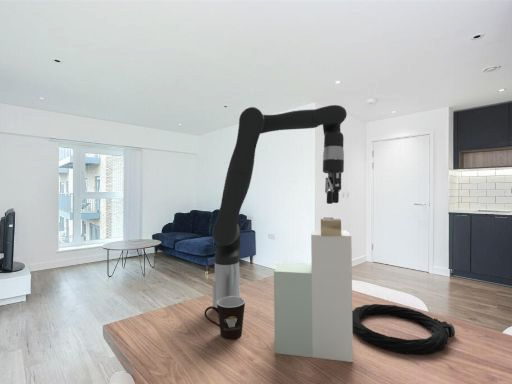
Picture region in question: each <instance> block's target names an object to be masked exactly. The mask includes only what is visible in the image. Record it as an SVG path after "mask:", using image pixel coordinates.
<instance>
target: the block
mask: <svg viewBox="0 0 512 384" xmlns="http://www.w3.org/2000/svg"><path fill="white" fill-rule="evenodd" d="M320 230H321V236H341V231H342V220H341V219H340V218H334V217H323V218H320Z"/></svg>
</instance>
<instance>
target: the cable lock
mask: <svg viewBox="0 0 512 384" xmlns="http://www.w3.org/2000/svg"><path fill="white" fill-rule="evenodd" d="M375 315H377V316H393V317H397V318H404V319H407V320H408V321H413V322H415V323H418V324H419V325H421V326H423V327H425V328H426V329H429V331H430V332H431V333H432V335H431V336H429V337H427V338H418V339H416V338H415V339H405V338H399V337H395V336H390V335H386V334H383V333H380V332H377V331H374V330H372V329H370V328H369V327H366V325H364V324H363V323H362V322H361V320H362V319H363V318H365V317H369V316H375ZM352 329H353V332H354V334H355V335H356V336H358V338H360V339H362V340H363V341H364V342H366V343H368V344H372V345H374V346H376V347H378V348H379V349H382V350H387V351H392V352H396V353H400V354H413V355H425V354H432V353H435V352H437V351H441V350H443V349H444V348H445V347H446V346H447V345H448V342H449V339H450V338H453V337H455V334H456V332H455V331H456V330H455V327H454V325H453V324H452V323H451V322H449V323H448V322H447V321H441V320H439V319H438V318H435V317H434V318H433V317H432V316H429V315H427V314H425V313H423V312H422V311H420V310H419V311H418V310H415V309H412V308H409V307H404V306H399V305H396V304H395V305H394V304H380V303H372V304H363V305H362V306H358V307H355V308H354V309H352Z"/></svg>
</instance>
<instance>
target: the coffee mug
mask: <svg viewBox="0 0 512 384" xmlns="http://www.w3.org/2000/svg"><path fill="white" fill-rule="evenodd" d="M245 304H246V299H244V298H243V297H241V296H240V297H236V296H230V297H224V298H221V299H219V300H218V301H217V308H216V307H213V305H211V306H209V307H207V308H205V310H204V317H205V318H206V320H208V321H209V322H210V323H212V324H214V325H216V327H218V328H219V330H220V336H221V338H222V339H224V340H228V341H230V340H231V341H233V340H236V339H239V338H240V337H241V336H242V335H243V334H242V333H243V327H244V326H243V325H244V314H245V307H246V305H245ZM210 309H211V310H212V309H213V310H215V312H216V313H217V315H218V322H219V323H218V322H216V321H214V320H213V319H211V318H210V317H209V316H208V315H207V312H208V310H210Z"/></svg>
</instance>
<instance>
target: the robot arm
mask: <svg viewBox="0 0 512 384" xmlns="http://www.w3.org/2000/svg"><path fill="white" fill-rule="evenodd" d="M347 113H348V112H347V110H346V109H345V107H343V106H342V105H339V104H332V105H331V104H330V105H326V106H322V107H318V108H309V109H297V110H291V111H286V112H283V113H277V114H263V112H262V111H261V109H259V108H257V107H255V106H251V107H248V108H245V109H244V110H243V111H242V112H241V114H240V116H239V119H238V130H237V136H236V143H235V145H234V146H235V147H234V149H233V151H232V155H231V158H230V161H229V164H228V167H227V172H226V176H225V180H224V185H223V190H222V191H223V192H222V197H221V203H220V207H219V211H218V214H217V217H216V220H215V222H214V225H213V228H212V238H213V240H214V242H215V243H216V248H215V249H216V251H215V252H214V253H215V254H214V281H213V283H212V306H213V307H216V308H217V301H218V300H219V299H221V298H224V297H230V296H236V297H241V296H240V290H241V288H240V253H241V228H240V225H239V223H238V222H239V217H240V213H241V209H242V207H243V204H244V202H245V200H246V197H247V194H248V192H249V188H250V185H251V181H252V177H253V176H252V175H253V173H254V172H253V170H254V166H255V159H256V158H255V157H256V149H257V144H258V141H259V138H260V136H261V134H265V133H269V132H271V133H272V132H278V131H288V130H289V131H291V130H306V129H308V130H309V129H315V128H319V127H320V126H322V131H323V136H324V139H323V140H324V141H323V142H324V143H323V155H322V173H324V174H327V177H325V184H324V185H325V186H324V187H325V190H324V191H325V194H326V204H327V205H328V204H329V205H332V204H337V203H339V202H340V200H339V199H340V194H339V193H341V190H342V174H343V173H344V168H345V164H344V163H345V151H344V141H345V140H344V135H343V133H342V131H341V124H343V123H344V121H345V120H346V118H347V115H348V114H347Z"/></svg>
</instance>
